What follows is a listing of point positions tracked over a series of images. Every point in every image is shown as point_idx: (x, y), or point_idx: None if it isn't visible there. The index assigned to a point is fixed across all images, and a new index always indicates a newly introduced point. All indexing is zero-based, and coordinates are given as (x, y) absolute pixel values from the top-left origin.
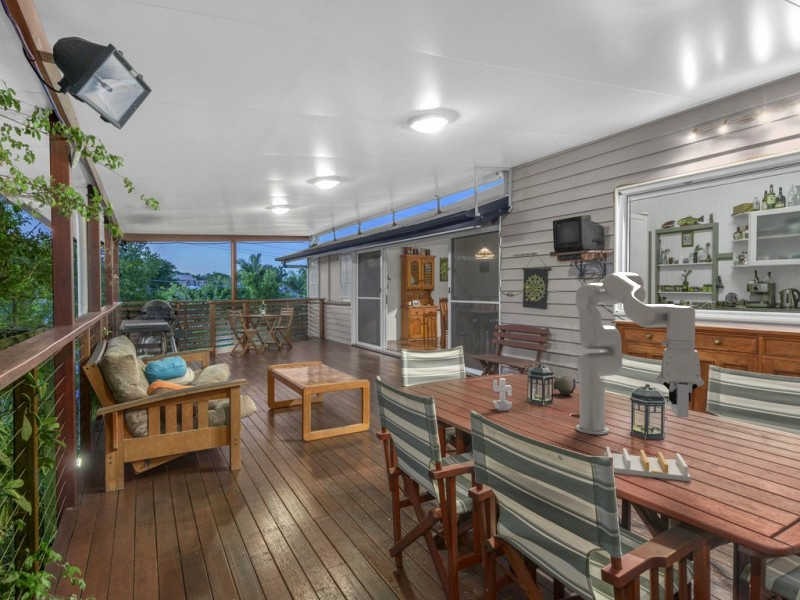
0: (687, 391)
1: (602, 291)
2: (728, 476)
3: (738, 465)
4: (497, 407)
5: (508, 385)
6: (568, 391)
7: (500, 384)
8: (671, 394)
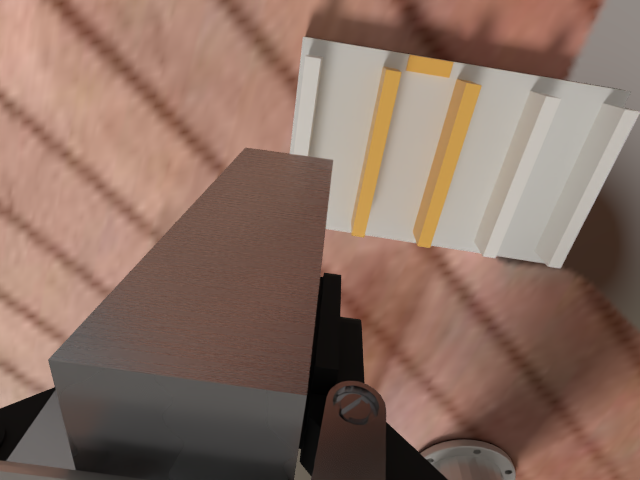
0: (154, 274)
1: None
2: (146, 126)
3: (91, 240)
4: None
5: None
6: None
7: None
8: (347, 363)
